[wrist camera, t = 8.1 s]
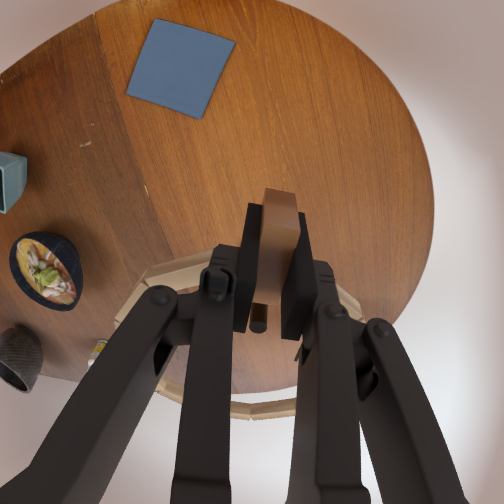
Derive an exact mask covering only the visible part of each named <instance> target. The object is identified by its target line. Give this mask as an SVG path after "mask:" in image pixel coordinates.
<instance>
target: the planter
mask: <svg viewBox="0 0 504 504" xmlns="http://www.w3.org/2000/svg"><path fill="white" fill-rule="evenodd" d="M42 363H43V353H42V349H41V343H40V340H39V339H38V337H37V336H36V335H35V334H34V333H33V332H32V331H31V330H29V329H27V328H25V327H18V328H9V329H7V330H5V331H4V332H3V333H2V334H1V335H0V378H1V379H2V380H3V381H5V382H6V383H7V384H9V385H10V386H11V387H13V388H15V389H16V390H18V391H20V392H23V393H30V392H31V391H32V389H33V387H34V385H35V383H36V380H37V378H38V376H39V373H40V370H41V367H42Z"/></svg>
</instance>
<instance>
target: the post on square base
mask: <svg viewBox="0 0 504 504" xmlns="http://www.w3.org/2000/svg"><path fill="white" fill-rule="evenodd" d="M267 310H268V304H262V303H256V302H252V305H251V312H250V324H249V328H250V330H251V331H252V332H254V333H263V332H265V331H266V329H267Z"/></svg>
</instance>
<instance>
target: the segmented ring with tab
mask: <svg viewBox="0 0 504 504" xmlns="http://www.w3.org/2000/svg"><path fill="white" fill-rule="evenodd" d="M300 232H301V230H300V223H299V216H298V210H297V203H296V197H295V194H294V193H289V192H284V191H279V190H274V189H269V188H266V189H265V193H264V198H263V202H262V214H261V227H260V239H259V242H260V246H259V259H258V272H257V284H256V288H255V293H254V297H253V301H252V302H256V303H262V304H268V305H274V306H278V304H279V301H280V298H281V293H282V289H283V286H284V283H285V279H286V276H287V273H288V270H289V266H290V263H291V259H292V256H293V253H294V249H295V248H296V246H297V242H298V239H299V236H300ZM213 249H214V248H213ZM213 249H209V250H206V251H202V252H199V253H195V254H192V255H188V256H185V257H182V258H178V259H175V260H171V261H168V262H164V263H161V264H158V265H154V266H151V268H150V270H148V269H147V270H146V271H145V272H144V274H143V275H142V276H141V278H140V279H139V281H138V282H137V283H136V285H135V286H134V288H133V289H132V290H131V292H130V293H129V295H128V296H127V297H126V299H125V300H124V302H123V303H122V304H121V306H120V308H119V310H118V312H117V314H116V316H115V321H114V324H115V329H117V328H118V326H119V325H120V324H121V322H122V321H123V320H124V318H125V317H126V315H127V314H128V313H129V311H130V310H131V309H132V307H133V306H134V304H135V303H136V302H137V300H138V299H139V298H140V296H141V295H142V294H143V292H144V291H145V290H146V289H148V288H149V287H151V286H154V285H165V286H169V287H171V288H173V289H174V290H175V291H176V290H180V289H184V288H188V287H192V286H197V285H199V283H200V274H201V272H202V270H203V269H204V268H206V267H208V266H209V263H210V259H211V256H212V252H213ZM335 284H336V283H335ZM336 287H337V291H338V296H339V300H340V304H342V305H343V306H344V307H345V308H346V309H347V310H348V313H349V316H350V317H351V318H353V319H355V320H357V321H360V322H363V323H365V318H364V314H363V311H362V307H361V306H360V305H359V302H358V301H357V300H356V299H354V298H353V297H352V296H351V295H349V294H348V293H347V292H346V291H345V290H343V289H342V288H341V287H340V286H338V285H337V284H336ZM155 391H158V392H157V393H159V394H160V395H162V396H165V397H167V398H169V399H171V400H173V401H175V402H177V403H180V404H182V400H183V392H184V386H182V385H180V384H178V383H176V382H174V381H172V380H170V379H168V378H167V377H166V376H165V375H164V374H163V375H162V377H161V379H160V381H159V383H158V385H157V387H156V389H155ZM296 398H297V397H296ZM296 398H292V399H285V400H279V401H271V402H263V403H254V404H248V403H241V402H234V401H231V407H230V418H235V419H243V420H250V418H252V419H253V420H263V419H272V418H280V417H288V416H295V412H296Z"/></svg>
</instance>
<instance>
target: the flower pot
mask: <svg viewBox="0 0 504 504" xmlns="http://www.w3.org/2000/svg"><path fill="white" fill-rule="evenodd" d="M26 182H27V158H26V157H23V156H20V155H16V154H13V153H9V152H0V212H2V213H6V212H7V211H8V210H9V209H10V208H11V207H12V206H13V205H14V204H15V203H16V202H17V200H18V199H19V198H20V197H21V195H22V193H23V191H24V189H25V186H26Z"/></svg>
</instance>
